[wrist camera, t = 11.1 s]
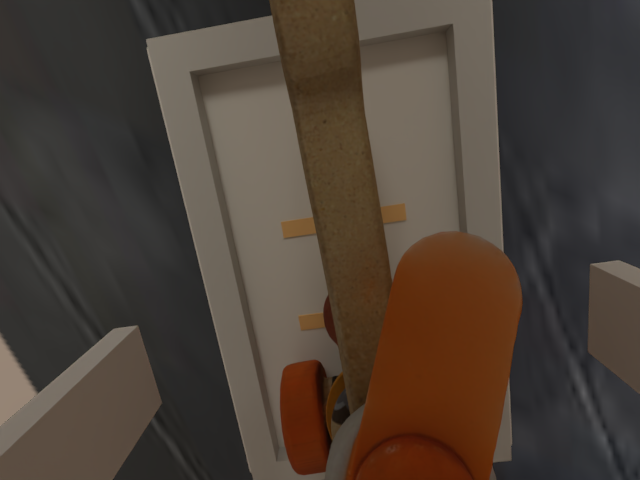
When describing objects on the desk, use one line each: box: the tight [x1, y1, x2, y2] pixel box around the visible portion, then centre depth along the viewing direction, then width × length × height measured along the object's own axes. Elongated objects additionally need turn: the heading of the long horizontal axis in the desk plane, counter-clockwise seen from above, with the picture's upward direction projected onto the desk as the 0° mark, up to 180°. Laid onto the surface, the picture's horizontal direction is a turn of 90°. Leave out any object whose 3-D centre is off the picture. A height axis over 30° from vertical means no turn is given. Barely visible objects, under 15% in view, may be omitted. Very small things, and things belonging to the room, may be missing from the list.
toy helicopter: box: [269, 0, 523, 480], centre depth 11 cm, size 8×21×14 cm, turn 11°
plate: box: [146, 0, 512, 480], centre depth 19 cm, size 23×15×3 cm, turn 9°
